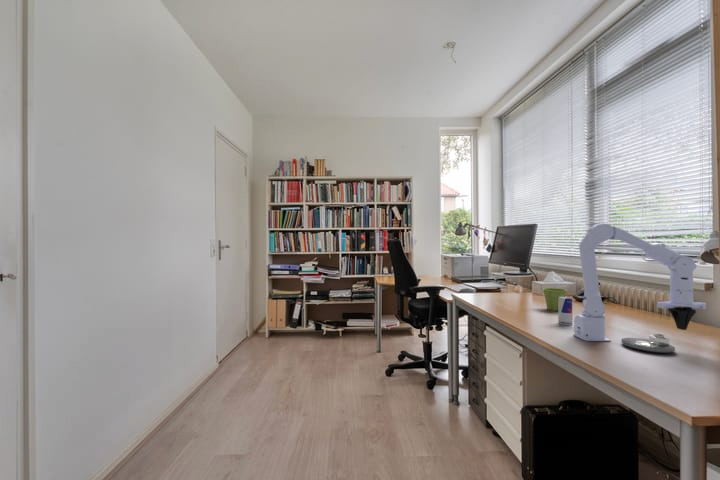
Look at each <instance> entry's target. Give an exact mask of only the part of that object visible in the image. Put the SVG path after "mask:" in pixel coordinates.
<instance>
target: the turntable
mask: <svg viewBox="0 0 720 480" xmlns="http://www.w3.org/2000/svg"><path fill="white" fill-rule="evenodd" d="M620 342H621V344H622V345H624V346H627V347H629V348H631V349H634V350H637V351H641V352H646V353H653V354H669V353H675V351H676V347H675V346H673V345H672V344H669V346H658V345H654V344H651V343H649V338H648V339H647V338H640V337H624V338H622V339H621V341H620Z"/></svg>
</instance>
